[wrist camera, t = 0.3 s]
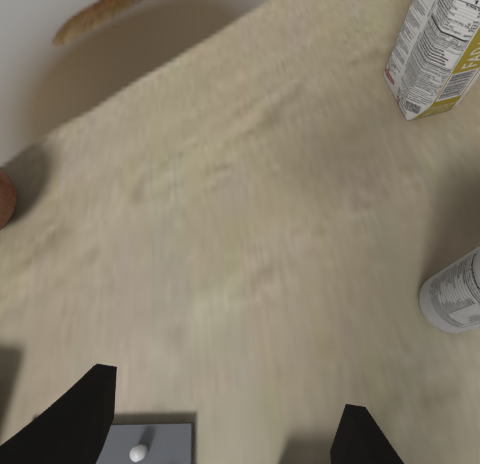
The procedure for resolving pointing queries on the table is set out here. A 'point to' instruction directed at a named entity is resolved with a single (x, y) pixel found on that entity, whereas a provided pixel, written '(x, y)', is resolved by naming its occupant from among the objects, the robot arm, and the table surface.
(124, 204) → the table surface
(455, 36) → the juice carton
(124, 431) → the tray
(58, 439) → the robot arm
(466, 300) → the energy drink can
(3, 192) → the onion
